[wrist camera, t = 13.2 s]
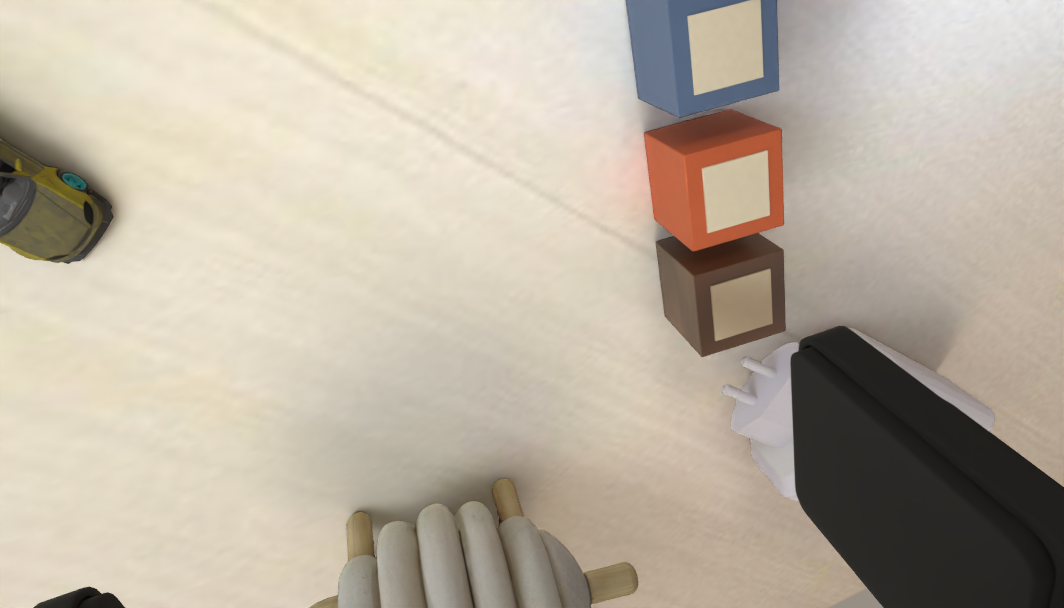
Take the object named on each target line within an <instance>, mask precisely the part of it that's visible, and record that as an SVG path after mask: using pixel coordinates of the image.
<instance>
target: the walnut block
mask: <svg viewBox="0 0 1064 608" xmlns="http://www.w3.org/2000/svg"><path fill="white" fill-rule="evenodd" d="M656 248H657V256H658V264H659V272H660V280H661V288H662V296H663V304H664V313H665V317H666V318H667V319H668V320H669V321H670V322H671V324H672V325H673V326H674V327H675V328H676V329H677V330H678V331H679V332H680V334H681V335H682V336H683V337H684V338H685V339H686V340H687V341H688V342H689V344H690V345H691V346H692V347H693V348H694V349H695V350H696V351H697V352H698V354H699V355H700V356H701V357H704V356H707V355H711V354H714V353H717V352H720V351H723V350H727V349H730V348H733V347H736V346H739V345H742V344H746V343H749V342H752V341H755V340H758V339H762V338H765V337H768V336H771V335H774V334H777V333H781V332H784V331H786V324H785V288H784V252H783V249H782V248H780V247H779V246H777V245H776V244H774V243H773V242H771V241H770V240H768V239H766V238H765V237H763V236H762V235H760V234H759V233H755V234H752V235H748V236H745V237H741V238H738V239H735V240H731V241H728V242H724V243H721V244H718V245H714V246H711V247H707V248H704V249H701V250H697V251H692V250H690V249H689V248H688V247H687V246H686V245H684V244H683V243H682V242H681V241H680V240H678V239H677V238H676V237H675V236H674V237H671V238H668V239H664V240H661V241H657V242H656Z"/></svg>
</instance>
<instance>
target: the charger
mask: <svg viewBox="0 0 1064 608" xmlns="http://www.w3.org/2000/svg"><path fill="white" fill-rule="evenodd" d="M847 328H849V329H850V330H852V331H853V332H855V333H856V334H857V335H859V336H860V337H861V338H863V339H864V340H865V341H867V342H868V343H869V344H871V345H872V346H873V347H875V348H876V349H877V350H879V351H880V352H881V353H883V354H884V355H885V356H887V357H888V358H889V359H891V360H892V361H893V362H895V363H896V364H897V365H899V366H900V367H901V368H902V369H904V370H905V371H906V372H908V373H909V374H910V375H912V376H913V377H914V378H916V379H917V380H918V381H920V382H921V383H922V384H924V385H925V386H926V387H928V388H929V389H930V390H932V391H933V392H934V393H936V394H937V395H938V396H940V397H941V398H943V399H944V400H946V401H948V402H950V403H951V404H953V405H954V406H956V407H957V408H958V409H960V410H961V411H962V412H964V413H965V414H966V415H968V416H969V417H970V418H972V419H973V420H974V421H976V422H977V423H978V424H980V425H981V426H982V427H984V428H985V429H986V430H988V431H989V432H990V431H991V429H992V427H993V424H994V420H995V416H994V412H993V410H992V409H991V408H989V407H988V406H986V405H985V404H984V403H982V402H981V401H979V400H978V399H976V398H975V397H973V396H972V395H971V394H969V393H968V392H966V391H965V390H963V389H962V388H961V387H959V386H958V385H956V384H955V383H953V382H952V381H950V380H949V379H947V378H945V377H943V376H941V375H939V374H938V373H936V372H934V371H932V370H930V369H928V368H926V367H925V366H923V365H921V364H919V363H917V362H915V361H913V360H911V359H910V358H908V357H906V356H904V355H902V354H900V353H898V352H897V351H895V350H893V349H891V348H889V347H887V346H885V345H884V344H882V343H880V342H878V341H876V340H874V339H872V338H870V337H869V336H867V335H865V334H863V333H861V332H859V331H857V330H856V329H854V328H851V327H847ZM799 344H800V343H798V342H793V343H787V344H784V345H783V346H781V347H780V348H778V349H777V350H775V351H774V352H772V353H771V354H769V355H768V356H766V357H765V358H763V360H762V361H761V363H760V362H758V361H756V360H753V359H751V358H749V357H745V358H743V359H742V361H741V365H742V366H744V367H746V368H748V369H750V370H752V371H754V372H753V374H752V375H751V376H750V378H749V379H748V381H747V382H746V383H745V385H744V386H743V387H742V389H741V390H740V389H737V388H735V387H733V386H731V385H728V384H726V385H724V386H723V387H722V393H723V394H726V395H728V396H730V397H733V398H735V399H737V400H736V404H735V407H734V410H733V413H732V417H731V431H733V432H736V433H738V434H741V435H743V436H746V437H748V438H750V444H751V456H752V459H753V461H754V462H755V463H756V464H757V466H758V467H759V468H760V469H761V470H762V472H763V473H764V474H765V475H766V477H767V478H768V479H769V480H770V481H771V483H772V484H773V485H774V486H775V488H776V489H777V490H778V491H779V492H780V494H781V495H782V496H784V497H786V498H789V499H791V500H794V501H797V502H799V500H798V498H797V494H796V490H795V472H794V446H793V419H792V393H791V366H790V360H791V356H792V354H793V353H795V352H798V351H799Z"/></svg>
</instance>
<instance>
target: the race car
mask: <svg viewBox="0 0 1064 608" xmlns="http://www.w3.org/2000/svg"><path fill="white" fill-rule="evenodd" d="M57 171H58V168H54V167H47V166H44V165H43V164H41V163H39V162H38V161H36V160H34V159H33V158H31V157H30V156H28V155H26V154H25V153H23V152H22V151H20V150H18V149H17V148H15V147H13V146H12V145H10V144H9V143H7V142H5V141H4V140H2V139H1V138H0V243H2V244H4V245H7V246H9V247H10V248H11V249H12V250H14V251H15V252H17V253H18V254H20V255H22V256H24V257H27V258H30V259H34V260H44V261H51V262H56V263H59V262H64V263H67V264H69V263H71V262H73V261H81V260H82V259H83V258H84V257H85V256H86V255H87V254H88V253H89V252H90V251H91V250H92V248H93V247H94V246H95V245H96V244H97V243H98V241H99V240H100V239H101V237H102V236H103V234H104V233H105V231H106V230H107V228H108V226H109V224H110V223H111V221H112V219H113V214H112V212H111V208H112V206H111V205H110V204H109V203H108V202H107V201H106V200H105V199H104V198H102V197H101V196H100V195H98V194H97V193H96V192H94V191H92V192H91V194H90V195H87V194H86V192H87V191H88V185H87V183H86V182H85V181H84V180H83V179H82V178H80V177H79V176H77V175H75V174H72V173H68V172H62V173H60V174H59V175H58V176H57Z"/></svg>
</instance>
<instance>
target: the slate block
mask: <svg viewBox="0 0 1064 608" xmlns="http://www.w3.org/2000/svg"><path fill="white" fill-rule="evenodd" d="M626 4H627V12H628V20H629V28H630V36H631V44H632V52H633V60H634V68H635V77H636V85H637V93H638V98H639V99H640V100H642V101H645V102H647V103H649V104H651V105H653V106H655V107H657V108H659V109H662V110H664V111H666V112H668V113H670V114H672V115H674V116H676V117H679V118H680V117H683V116H687V115H691V114H694V113H698V112H702V111H705V110H709V109H713V108H717V107H720V106H724V105H728V104H731V103H735V102H739V101H742V100H746V99H750V98H753V97H757V96H761V95H765V94H768V93H772V92H776V91H778V90H779V63H778V27H777V0H626Z"/></svg>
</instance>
